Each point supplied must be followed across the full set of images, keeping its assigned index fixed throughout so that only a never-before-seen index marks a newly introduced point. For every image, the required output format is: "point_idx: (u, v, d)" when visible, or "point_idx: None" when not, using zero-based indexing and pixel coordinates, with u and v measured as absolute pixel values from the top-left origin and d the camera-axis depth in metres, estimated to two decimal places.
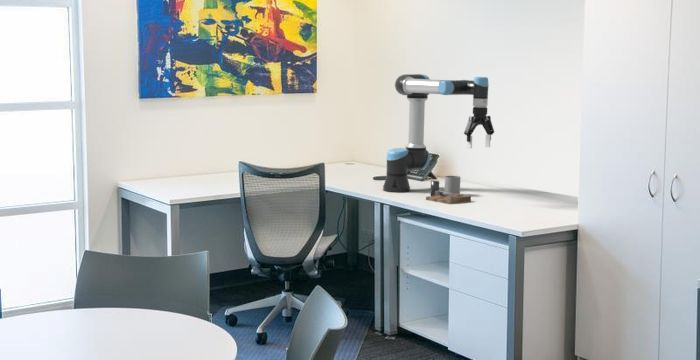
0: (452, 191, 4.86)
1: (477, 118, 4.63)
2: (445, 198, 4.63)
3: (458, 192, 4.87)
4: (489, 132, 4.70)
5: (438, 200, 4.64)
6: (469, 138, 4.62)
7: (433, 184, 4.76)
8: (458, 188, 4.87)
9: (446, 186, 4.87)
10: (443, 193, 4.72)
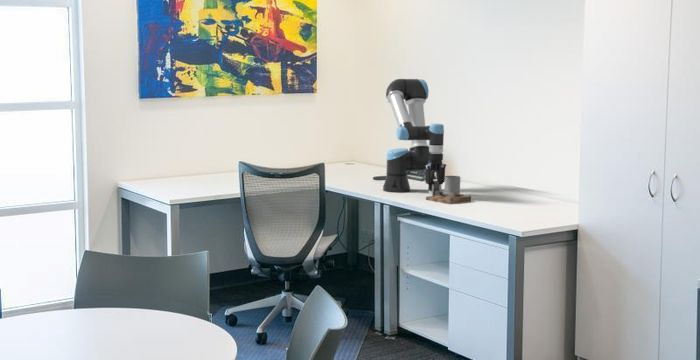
0: (452, 191, 4.86)
1: (433, 164, 4.74)
2: (445, 198, 4.63)
3: (458, 192, 4.87)
4: (440, 180, 4.79)
5: (438, 200, 4.64)
6: (431, 187, 4.76)
7: (433, 184, 4.76)
8: (458, 188, 4.87)
9: (446, 186, 4.87)
10: (443, 193, 4.72)
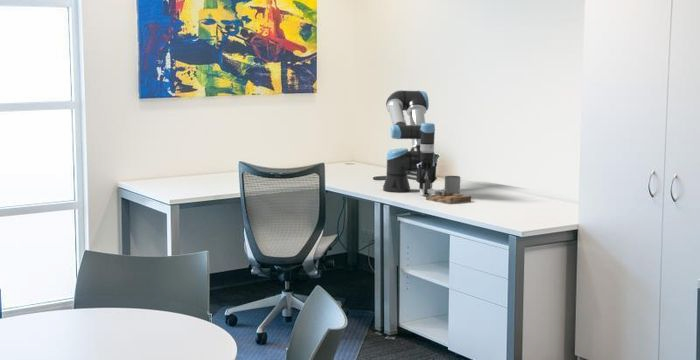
0: (452, 191, 4.86)
1: (424, 163, 4.80)
2: (445, 198, 4.63)
3: (458, 192, 4.87)
4: (431, 179, 4.84)
5: (438, 200, 4.64)
6: (421, 186, 4.81)
7: (424, 182, 4.82)
8: (458, 188, 4.87)
9: (446, 186, 4.87)
10: (434, 191, 4.78)
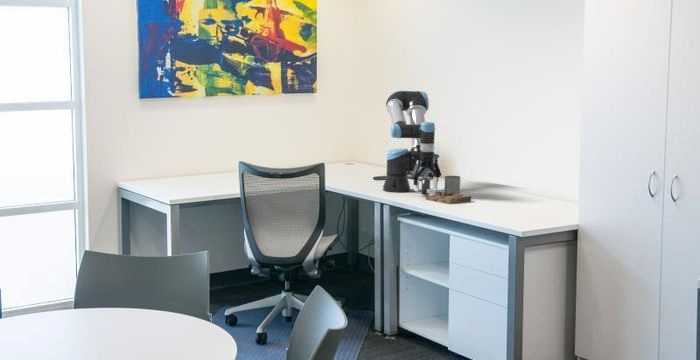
0: (452, 191, 4.86)
1: (424, 162, 4.80)
2: (445, 198, 4.63)
3: (458, 192, 4.87)
4: (436, 175, 4.86)
5: (438, 200, 4.64)
6: (416, 181, 4.78)
7: (424, 182, 4.82)
8: (458, 188, 4.87)
9: (446, 186, 4.87)
10: (434, 191, 4.78)
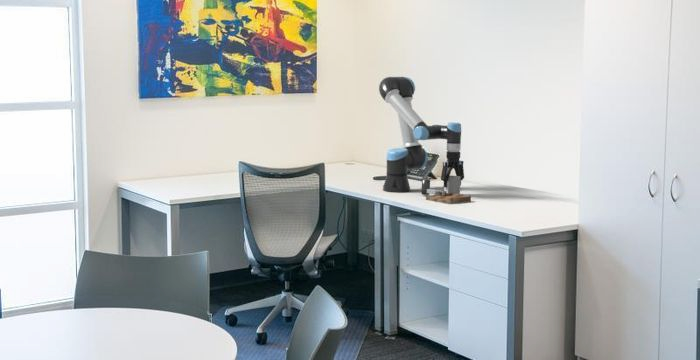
0: (452, 191, 4.86)
1: (450, 162, 4.85)
2: (445, 198, 4.63)
3: (458, 192, 4.87)
4: None
5: (438, 200, 4.64)
6: (446, 184, 4.85)
7: (424, 182, 4.82)
8: (458, 188, 4.87)
9: None
10: (434, 191, 4.78)
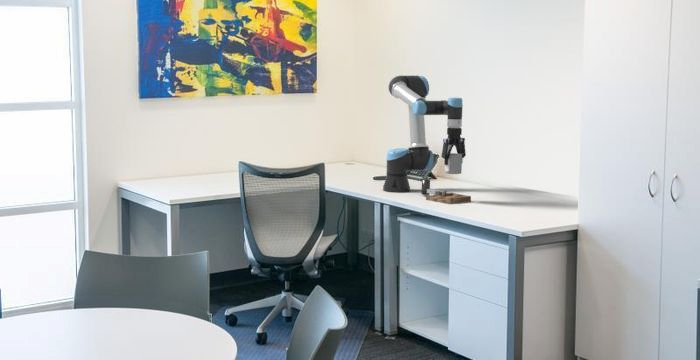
0: (453, 169, 4.64)
1: (451, 138, 4.64)
2: (445, 198, 4.63)
3: (460, 170, 4.66)
4: None
5: (438, 200, 4.64)
6: (447, 161, 4.64)
7: (424, 182, 4.82)
8: (460, 166, 4.65)
9: None
10: (434, 191, 4.78)
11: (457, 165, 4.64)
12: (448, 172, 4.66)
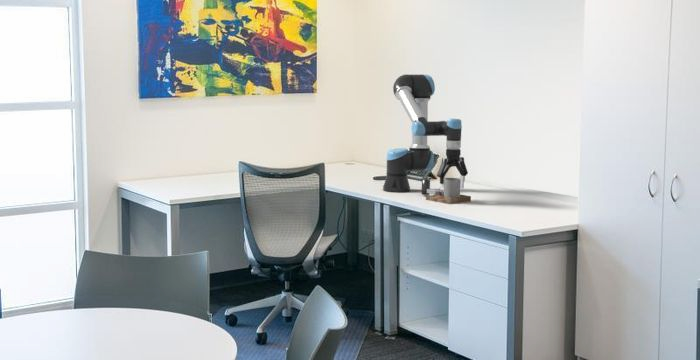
0: (452, 194, 4.64)
1: (450, 160, 4.64)
2: (445, 198, 4.63)
3: (458, 195, 4.66)
4: (463, 173, 4.70)
5: (438, 200, 4.64)
6: (442, 180, 4.62)
7: (424, 182, 4.82)
8: (458, 191, 4.66)
9: (446, 189, 4.66)
10: (434, 191, 4.78)
11: (456, 190, 4.65)
12: None
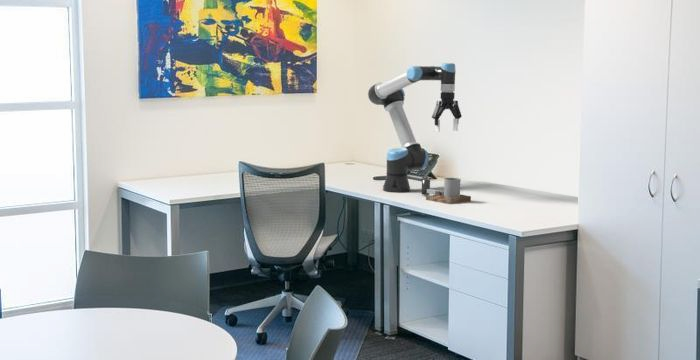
0: (452, 194, 4.64)
1: (444, 103, 4.82)
2: (445, 198, 4.63)
3: (458, 195, 4.66)
4: (456, 116, 4.89)
5: (438, 200, 4.64)
6: (437, 122, 4.81)
7: (424, 182, 4.82)
8: (458, 191, 4.66)
9: (446, 189, 4.66)
10: (434, 191, 4.78)
11: (456, 190, 4.65)
12: None
